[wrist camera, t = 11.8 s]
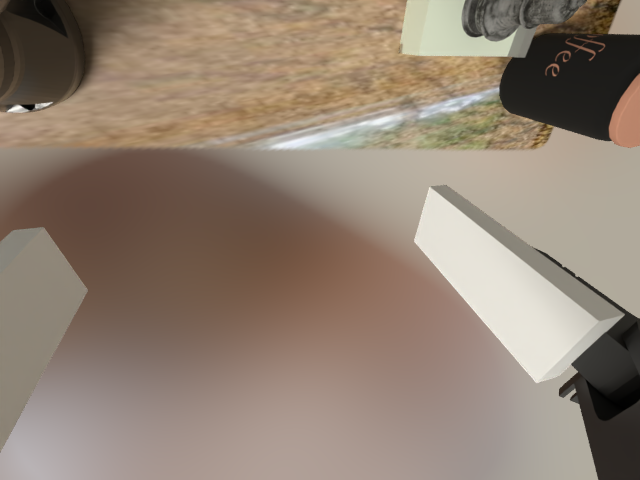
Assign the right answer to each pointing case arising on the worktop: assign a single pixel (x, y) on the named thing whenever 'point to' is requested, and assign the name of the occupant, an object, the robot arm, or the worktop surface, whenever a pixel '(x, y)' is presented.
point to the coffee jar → (579, 85)
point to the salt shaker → (513, 15)
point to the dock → (453, 33)
